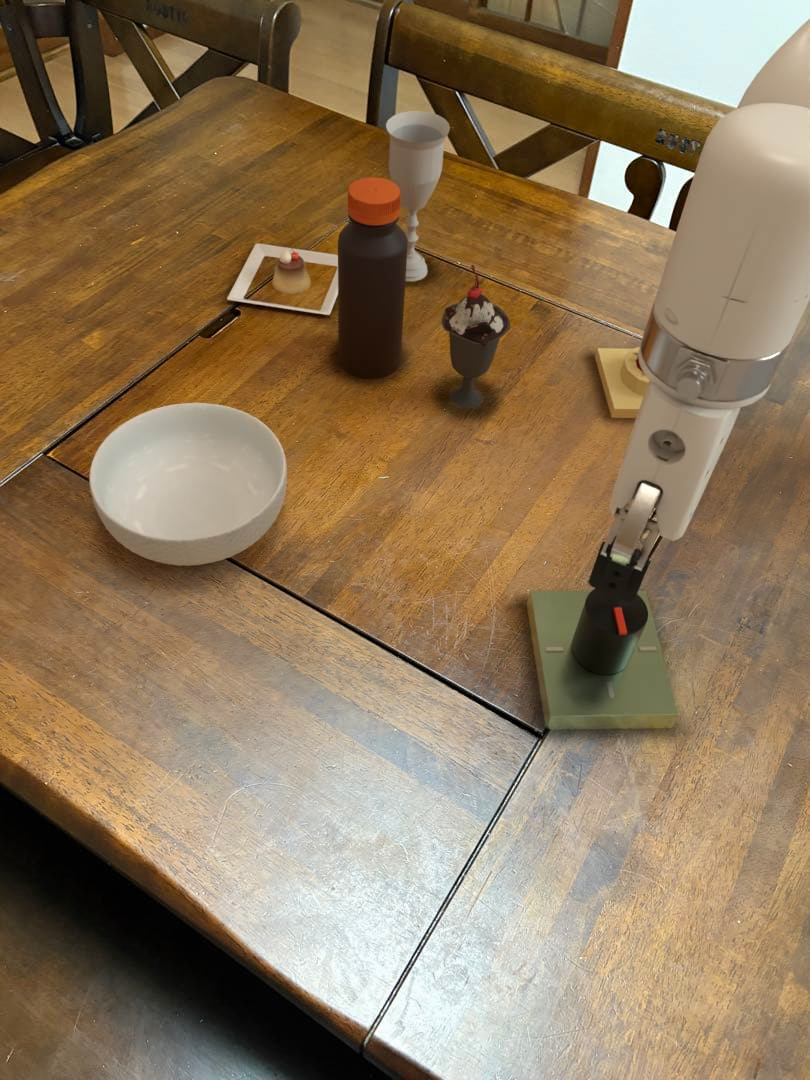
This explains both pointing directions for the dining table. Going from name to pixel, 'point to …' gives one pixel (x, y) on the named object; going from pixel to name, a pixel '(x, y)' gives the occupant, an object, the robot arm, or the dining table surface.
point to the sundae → (473, 340)
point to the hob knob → (608, 632)
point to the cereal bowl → (189, 483)
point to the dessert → (286, 275)
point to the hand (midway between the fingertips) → (634, 543)
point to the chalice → (416, 170)
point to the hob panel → (591, 696)
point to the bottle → (371, 280)
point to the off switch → (621, 380)
